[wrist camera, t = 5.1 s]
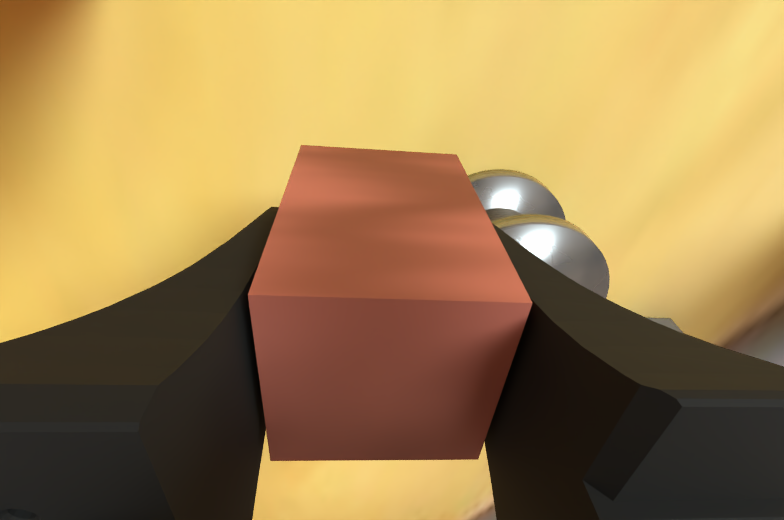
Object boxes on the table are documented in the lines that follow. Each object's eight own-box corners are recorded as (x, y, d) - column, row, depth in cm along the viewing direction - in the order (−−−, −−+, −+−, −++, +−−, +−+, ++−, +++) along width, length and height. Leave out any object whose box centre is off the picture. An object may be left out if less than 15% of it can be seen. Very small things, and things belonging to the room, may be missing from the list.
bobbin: (579, 173, 19) (638, 229, 15) (537, 294, 23) (575, 364, 19) (427, 165, 19) (445, 220, 14) (410, 290, 22) (420, 362, 18)
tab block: (456, 154, 11) (532, 302, 6) (435, 277, 13) (478, 459, 8) (300, 145, 11) (247, 295, 6) (306, 273, 13) (270, 460, 8)
